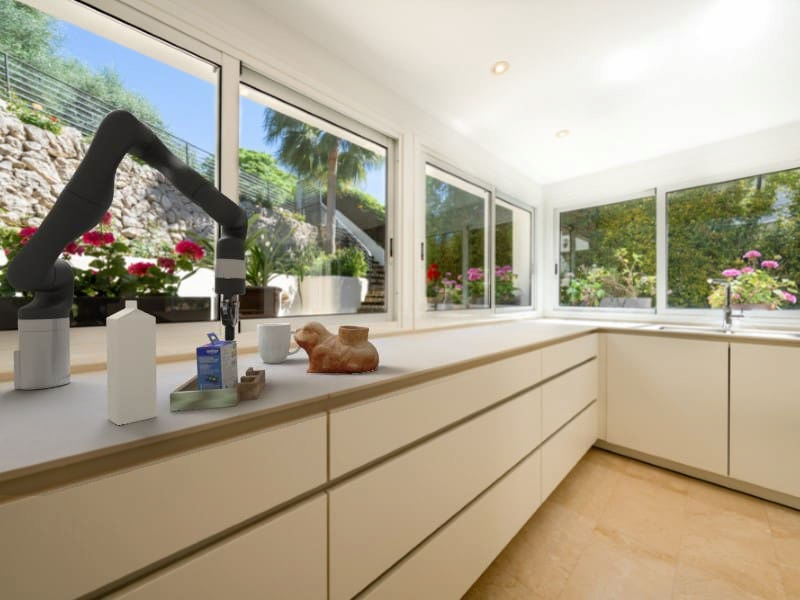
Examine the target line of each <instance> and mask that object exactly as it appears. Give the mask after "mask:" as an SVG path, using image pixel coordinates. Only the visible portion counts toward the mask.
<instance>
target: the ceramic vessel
mask: <svg viewBox="0 0 800 600" xmlns="http://www.w3.org/2000/svg"><path fill="white" fill-rule="evenodd" d="M295 331H296V332H295V334H293V339H294V340H293V341H295V343H296V344H297V345H298V347H299V346H300V347H301V349H302V350H304V352H305V353H306V355H307V356H308V362H309V363H308V364H309V365H308V368H307V370H306V374H308V373H339V374H338V375H340V373H348V374H347V375H353V374H352V373H359V374H363V373H362V372H365V373H368V372H367V371H370V372H373V371H372V370H375V369H376V370H377V368H378V366H379V364H380V355H379V352H378V349H377V347H376V346H375V345H374V344H373V343H372V342H370V341H369V340H368V339H369V338H368V337H369V332H370V328H369V327H366V326H357V325H339V326H338V333H337V334H335V333H332V332H331V331H329V330H328V329H327V328H326V327H325V326H324V325H323V324H321V322H318V321H316V320H311V321H309V322H306V323H305V324H304V326H302V327H299V328H296V330H295ZM376 370H375V371H376Z"/></svg>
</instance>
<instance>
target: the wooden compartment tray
mask: <svg viewBox="0 0 800 600" xmlns="http://www.w3.org/2000/svg"><path fill="white" fill-rule="evenodd" d="M239 380H240V382H238V383H236V384H235V385H234V386H233V387H232V388H229V389H214V390H199V391H198V376H197V374H196V375H194V376H193V377H192V378H190V379H189V380H187V381H186V382H184V383H182V384H181V385H180V386H178V387H177V388H176V389H174V390H172V391H171V392H170V393H169V412H177V411H178V410H180V411H190V410H192V409H193V410H202V409H203V410H204V409H217V407H218V408H227V407H229V406H230V408H231V407H236V406H238V404H239V402H240V401H242V400H243V401H244V399H245V400H258V398H259V396H260V395H261V392H262V390H263V388H264V387H265V385H266V369H256V370H254V367H251V366H250V367H248V369H246V371H245V375H242V376H241V377H240V379H239ZM264 384H265V385H264Z"/></svg>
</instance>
